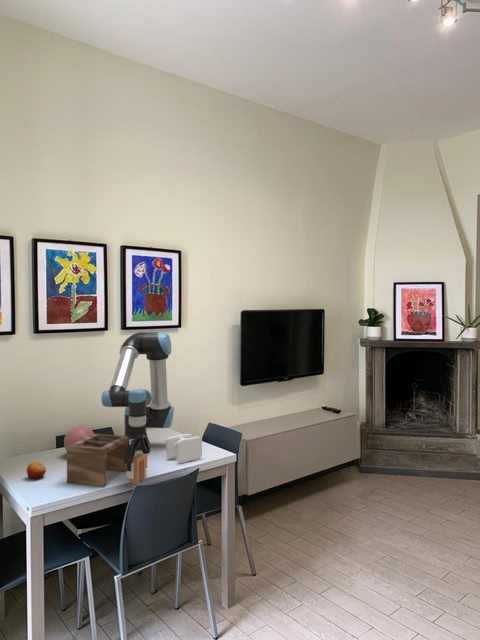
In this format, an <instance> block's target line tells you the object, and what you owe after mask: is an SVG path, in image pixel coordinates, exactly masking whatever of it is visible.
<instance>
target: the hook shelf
mask: <svg viewBox="0 0 480 640" xmlns="http://www.w3.org/2000/svg"><path fill="white" fill-rule="evenodd" d="M128 439H129V436H124V435H115V434H104V433H94V434H93V435H91V436H88V437H86V438H84V439H82V440H80V441H77V442H75V443H73V444H71V445H69V446H67V450H66V483H67V484H74V485H84V486H92V487H100V488H104V487H105V488H106V486H107V484H108V483H107V470H108V471H115V472H116V471H117V472H125V473H127V463H124V459H125V454H126V449H127V443H128ZM85 445H92V447H87V446H85Z"/></svg>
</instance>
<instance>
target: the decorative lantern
mask: <svg viewBox="0 0 480 640" xmlns="http://www.w3.org/2000/svg"><path fill="white" fill-rule="evenodd" d="M93 434H95V432H94V431H93V430H92V429H91V428H90V427H88V426H85V425H77V426H73V427H72V428H70V429H69V430H68V431H67V433H65V436H64V439H63V445H64V449H65V451H67V446H69V445H71V444H73V443H75V442H77V441H80V440H82V439H84V438H86V437H88V436H91V435H93ZM85 446H87V447H92V445H85Z"/></svg>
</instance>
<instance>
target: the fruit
mask: <svg viewBox="0 0 480 640" xmlns="http://www.w3.org/2000/svg"><path fill="white" fill-rule="evenodd" d="M46 471H47V470H46V467H45V465H44V464H43V463H42V462H40V461H32V462H30V463H29V464H28V466H27V468H26V474H27V480H28V479H32V480H40V479H41V478H43V476H45V474H46Z"/></svg>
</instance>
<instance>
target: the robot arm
mask: <svg viewBox="0 0 480 640" xmlns="http://www.w3.org/2000/svg"><path fill="white" fill-rule="evenodd" d="M171 354H172V342H171V337H170V335H169V333H167V332H160V331H156V332H155V331H154V332H150V331H149V332H146V331H145V332H142V331H141V332H136V333H133V334H131V335H130V336H129V337H127V338H126V340H124V342H123V343H122V345H120V349H119V355H120V356H119V359H118V362H117V365H116V369H115V371H114V375H113V378H112V381H111V385H110V387H109V389H107V390H103V391H102V394H101V403H102V406H103V407H107V408H124V415H123V416H124V435H123V436H129V439H128V443H127V449H126V454H125V459H124V463H127V472H126V479H129V478H131V479H133V463H132V462H133V459H134V456H135V455H136V452H137V451H141V452H142V453H141V454H146V469H148V454H150V452H151V448H150V440H149V437H148V433H147V429H169V428H171V427H172V425H173V420H174V411H175V407H174V406H172V405H171V402H170V401H169V400H168V377H167V360H168V359H169V355H171ZM139 355H146V360H147V361H149V372H150V373H149V375H150V376H149V378H150V390H148V389H144V388H136V389H130V390H127V388H128V385H129V381H130V378H131V375H132V372H133V371H132V370H133V367H134V363H135V361H136V359H138V357H139Z"/></svg>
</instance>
